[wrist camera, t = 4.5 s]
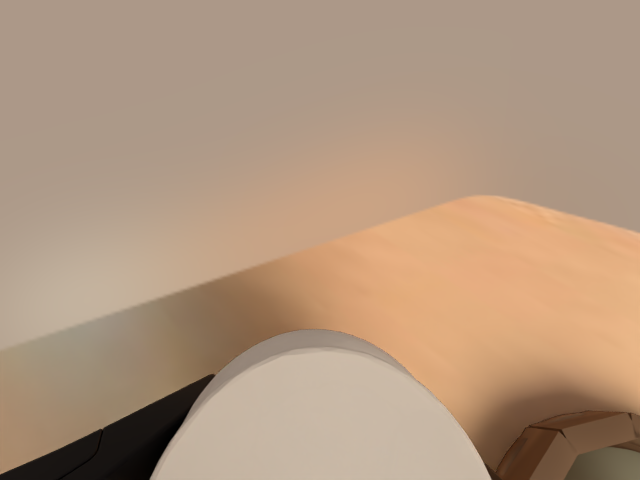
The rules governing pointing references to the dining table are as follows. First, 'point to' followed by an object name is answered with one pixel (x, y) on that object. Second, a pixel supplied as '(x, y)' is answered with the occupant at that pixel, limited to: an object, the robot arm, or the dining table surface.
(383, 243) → the dining table surface
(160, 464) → the supplement bottle
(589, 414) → the faceted wooden bowl
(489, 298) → the dining table surface
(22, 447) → the dining table surface
